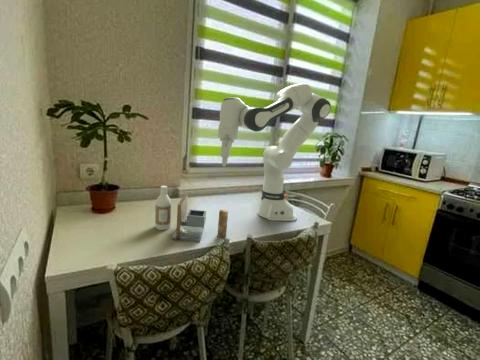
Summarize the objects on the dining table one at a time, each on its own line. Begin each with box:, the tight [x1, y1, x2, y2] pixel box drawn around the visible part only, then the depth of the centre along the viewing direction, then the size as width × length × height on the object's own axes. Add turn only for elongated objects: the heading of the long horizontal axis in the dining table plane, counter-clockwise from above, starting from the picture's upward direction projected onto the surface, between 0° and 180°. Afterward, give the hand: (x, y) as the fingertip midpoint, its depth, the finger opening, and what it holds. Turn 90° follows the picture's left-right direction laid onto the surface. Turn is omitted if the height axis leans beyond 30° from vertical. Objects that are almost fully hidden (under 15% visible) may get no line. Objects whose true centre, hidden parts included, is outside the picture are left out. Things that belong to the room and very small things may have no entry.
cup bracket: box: [171, 193, 207, 243], centre depth 126 cm, size 13×16×16 cm
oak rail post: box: [216, 209, 229, 238], centre depth 127 cm, size 4×4×12 cm
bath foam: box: [154, 185, 172, 231], centre depth 129 cm, size 7×7×20 cm
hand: (224, 164), depth 130 cm, fingers open, 8 cm apart
